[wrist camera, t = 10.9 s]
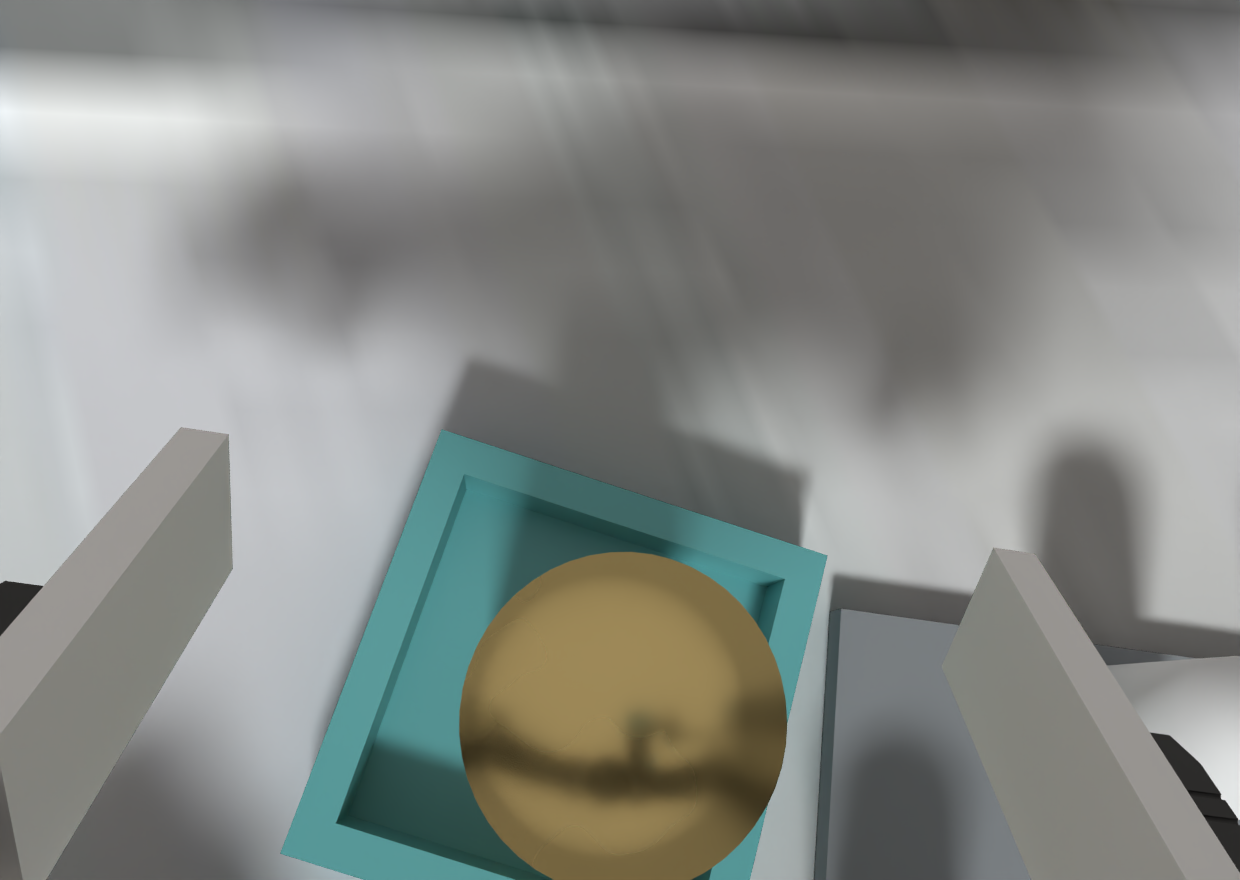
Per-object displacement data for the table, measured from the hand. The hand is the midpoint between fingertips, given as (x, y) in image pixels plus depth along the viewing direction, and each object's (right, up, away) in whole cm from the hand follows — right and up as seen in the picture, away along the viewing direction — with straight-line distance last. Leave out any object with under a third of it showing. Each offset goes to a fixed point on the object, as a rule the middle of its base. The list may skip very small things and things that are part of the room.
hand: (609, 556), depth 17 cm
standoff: (-1, -4, +5) cm, 6 cm away
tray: (-1, -4, +5) cm, 7 cm away
